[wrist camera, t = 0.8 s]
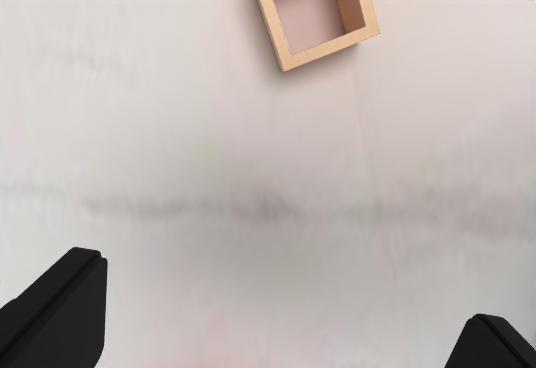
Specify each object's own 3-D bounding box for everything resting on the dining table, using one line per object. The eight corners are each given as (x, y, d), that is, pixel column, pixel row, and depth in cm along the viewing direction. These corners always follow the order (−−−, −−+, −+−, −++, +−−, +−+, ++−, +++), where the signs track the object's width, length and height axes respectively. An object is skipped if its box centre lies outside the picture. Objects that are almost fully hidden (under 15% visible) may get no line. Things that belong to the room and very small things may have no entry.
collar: (334, -48, 26) (352, -82, 20) (358, 41, 28) (380, 33, 23) (252, -13, 27) (248, -36, 21) (281, 71, 29) (284, 71, 23)
